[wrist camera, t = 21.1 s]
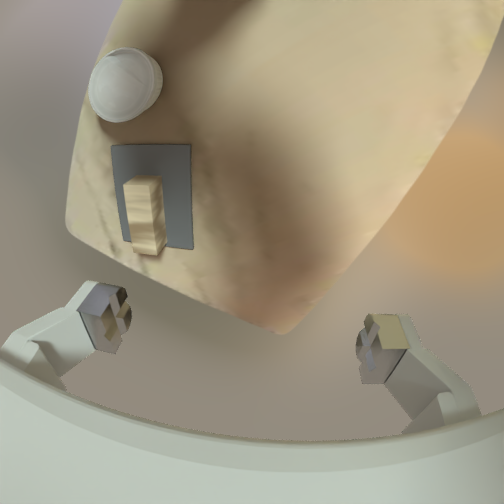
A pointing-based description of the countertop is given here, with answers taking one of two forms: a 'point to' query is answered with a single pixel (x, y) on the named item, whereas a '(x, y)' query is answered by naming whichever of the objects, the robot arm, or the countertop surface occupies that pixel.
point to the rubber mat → (173, 185)
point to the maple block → (146, 213)
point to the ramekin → (124, 84)
